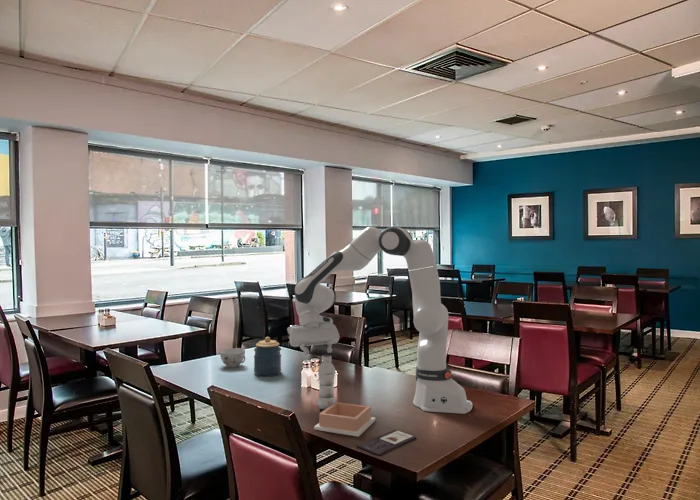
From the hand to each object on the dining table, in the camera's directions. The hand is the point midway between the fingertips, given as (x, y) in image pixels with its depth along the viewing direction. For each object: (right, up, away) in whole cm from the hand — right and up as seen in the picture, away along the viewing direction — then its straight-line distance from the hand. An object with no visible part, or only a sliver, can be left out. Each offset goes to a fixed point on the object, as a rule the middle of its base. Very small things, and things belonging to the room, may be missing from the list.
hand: (318, 352), depth 193 cm
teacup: (-46, -19, +56) cm, 75 cm away
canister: (-27, -19, +42) cm, 54 cm away
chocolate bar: (+24, -20, -40) cm, 51 cm away
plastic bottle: (+4, -19, -9) cm, 22 cm away
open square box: (+11, -19, -25) cm, 33 cm away
